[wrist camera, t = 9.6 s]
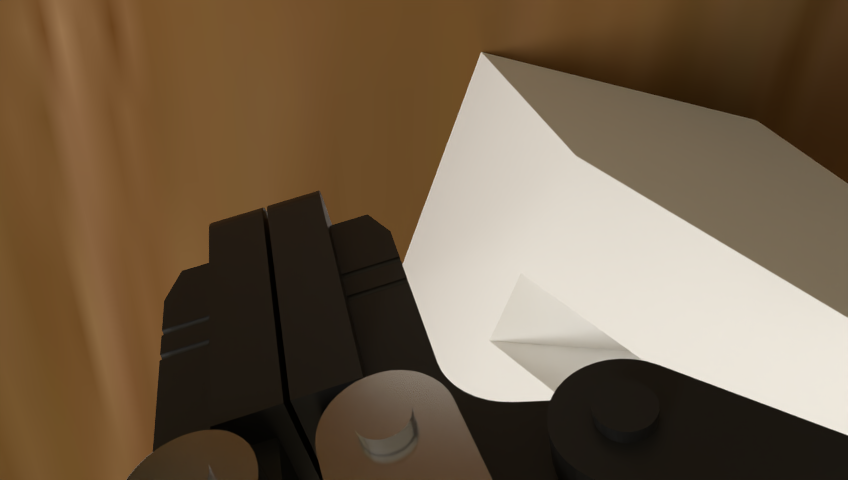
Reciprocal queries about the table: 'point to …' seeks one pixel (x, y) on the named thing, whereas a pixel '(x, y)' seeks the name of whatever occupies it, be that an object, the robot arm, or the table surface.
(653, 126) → the white house shaped block
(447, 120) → the table surface
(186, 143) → the table surface
